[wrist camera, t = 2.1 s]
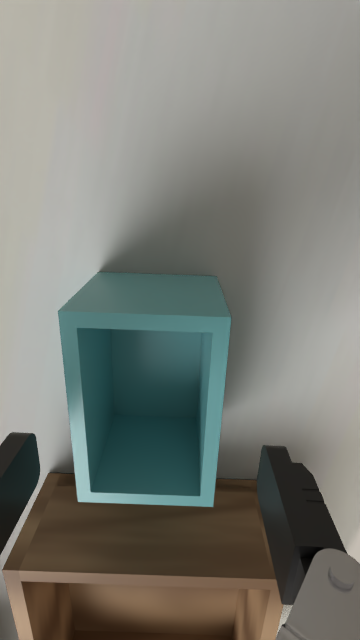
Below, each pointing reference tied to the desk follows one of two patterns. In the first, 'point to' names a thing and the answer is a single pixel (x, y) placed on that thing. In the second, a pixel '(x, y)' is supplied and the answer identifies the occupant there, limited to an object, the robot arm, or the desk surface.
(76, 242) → the desk surface
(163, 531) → the walnut crate
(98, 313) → the small teal crate
